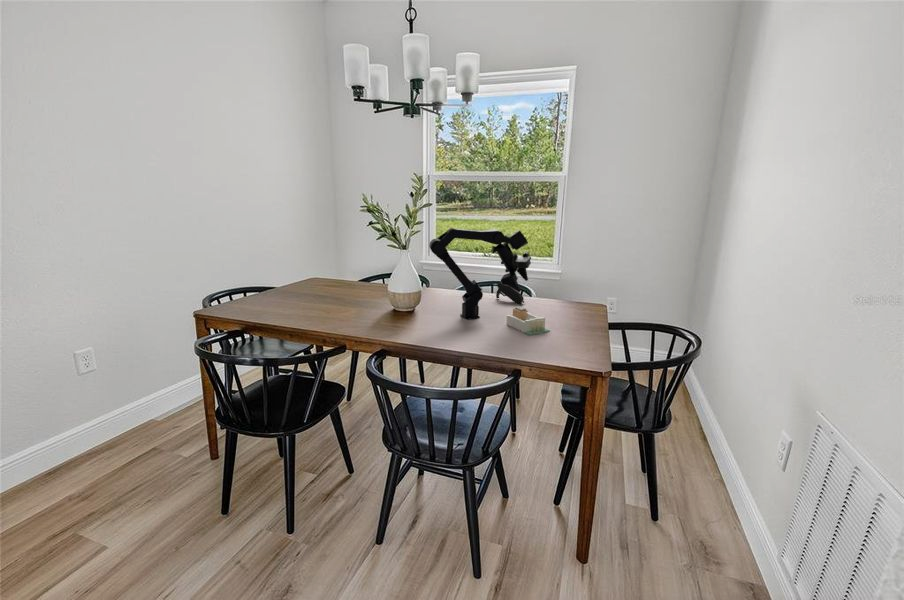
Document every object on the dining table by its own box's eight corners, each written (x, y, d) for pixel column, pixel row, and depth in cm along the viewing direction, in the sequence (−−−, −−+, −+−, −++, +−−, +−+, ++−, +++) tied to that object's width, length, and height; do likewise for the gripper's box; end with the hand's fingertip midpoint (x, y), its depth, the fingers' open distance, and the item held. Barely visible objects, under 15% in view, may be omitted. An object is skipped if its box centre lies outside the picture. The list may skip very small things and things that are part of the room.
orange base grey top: (519, 320, 180) (520, 310, 179) (512, 317, 185) (513, 307, 183) (527, 318, 182) (528, 308, 181) (520, 315, 187) (521, 305, 185)
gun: (515, 314, 206) (524, 298, 201) (491, 295, 212) (499, 279, 207) (518, 313, 208) (527, 297, 203) (494, 294, 214) (502, 278, 209)
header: (528, 335, 162) (528, 323, 161) (505, 324, 175) (506, 312, 173) (551, 331, 167) (552, 318, 166) (527, 320, 180) (528, 308, 179)
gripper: (514, 261, 167) (532, 293, 172) (530, 240, 180) (546, 270, 185) (492, 269, 175) (510, 299, 179) (508, 248, 188) (524, 276, 192)
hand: (523, 285), depth 184 cm, fingers open, 9 cm apart
